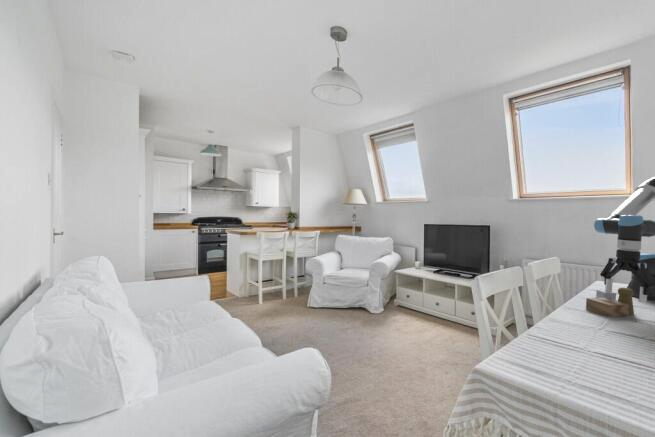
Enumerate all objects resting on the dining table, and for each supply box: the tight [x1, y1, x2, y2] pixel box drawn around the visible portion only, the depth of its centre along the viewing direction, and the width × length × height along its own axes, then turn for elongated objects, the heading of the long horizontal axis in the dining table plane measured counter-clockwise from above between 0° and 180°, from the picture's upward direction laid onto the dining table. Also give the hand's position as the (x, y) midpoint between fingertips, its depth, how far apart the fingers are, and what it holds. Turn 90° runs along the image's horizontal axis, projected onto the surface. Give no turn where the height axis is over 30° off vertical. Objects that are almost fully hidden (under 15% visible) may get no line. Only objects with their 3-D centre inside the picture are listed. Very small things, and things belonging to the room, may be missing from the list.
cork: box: [617, 287, 635, 316], centre depth 134 cm, size 6×6×11 cm
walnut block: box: [585, 297, 630, 318], centre depth 134 cm, size 10×10×5 cm
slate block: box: [595, 289, 617, 301], centre depth 147 cm, size 5×5×6 cm
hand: (624, 297), depth 134 cm, fingers open, 13 cm apart
